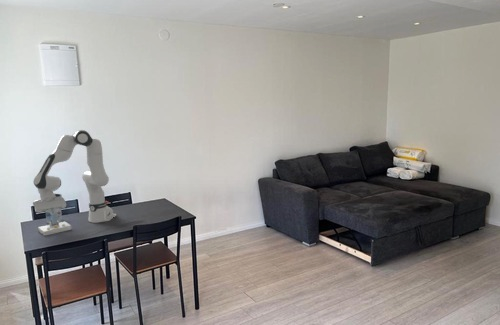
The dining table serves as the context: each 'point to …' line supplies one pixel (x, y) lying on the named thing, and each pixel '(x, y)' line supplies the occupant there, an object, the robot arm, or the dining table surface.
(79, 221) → the dining table surface
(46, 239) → the dining table surface
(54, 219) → the breaker lever
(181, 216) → the dining table surface
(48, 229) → the switch panel
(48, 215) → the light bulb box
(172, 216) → the dining table surface
